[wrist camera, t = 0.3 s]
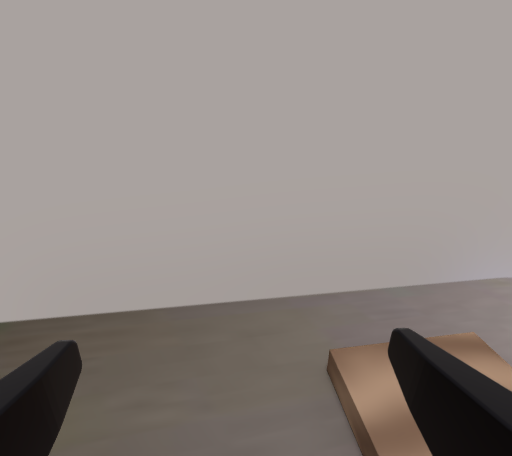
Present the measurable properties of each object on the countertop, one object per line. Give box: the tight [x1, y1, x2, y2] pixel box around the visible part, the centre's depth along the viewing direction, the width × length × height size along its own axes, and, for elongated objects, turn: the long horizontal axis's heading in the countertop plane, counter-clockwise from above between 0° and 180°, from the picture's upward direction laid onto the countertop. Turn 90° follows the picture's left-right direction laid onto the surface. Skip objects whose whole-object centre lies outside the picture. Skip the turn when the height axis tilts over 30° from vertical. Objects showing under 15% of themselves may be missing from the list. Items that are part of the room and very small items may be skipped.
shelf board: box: [327, 332, 512, 456], centre depth 20 cm, size 16×14×2 cm
